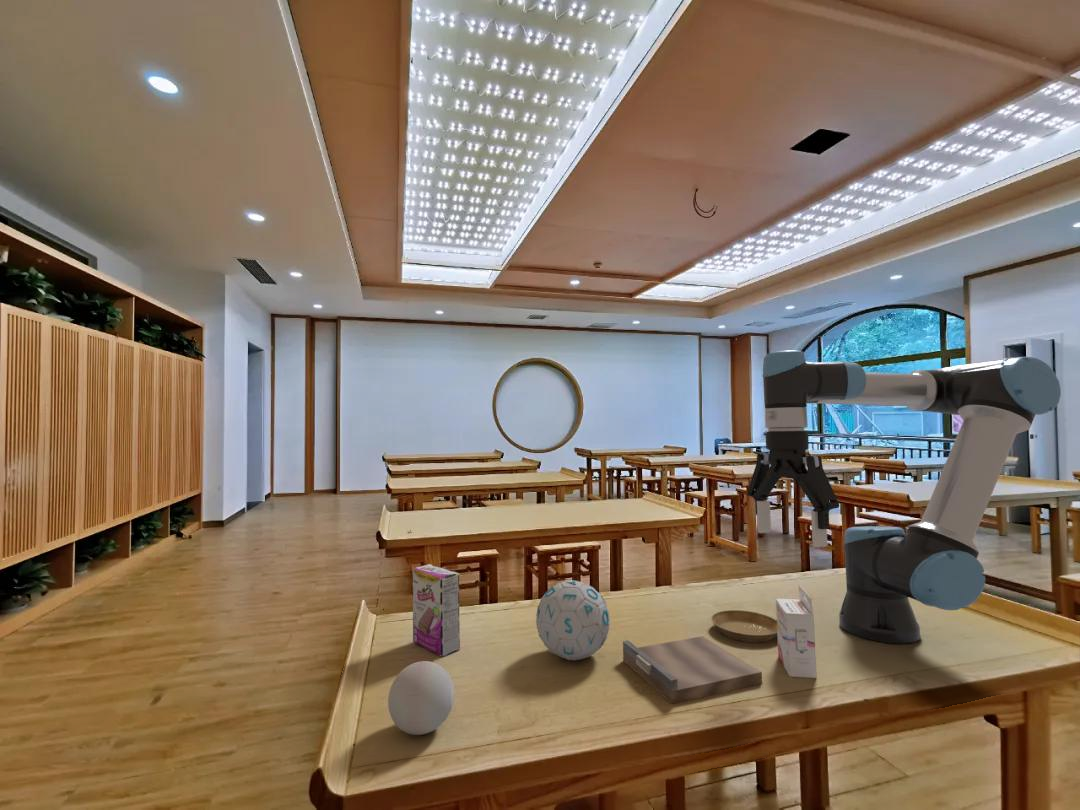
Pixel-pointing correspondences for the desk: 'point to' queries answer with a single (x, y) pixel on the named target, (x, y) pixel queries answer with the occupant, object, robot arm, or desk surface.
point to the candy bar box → (436, 609)
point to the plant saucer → (735, 621)
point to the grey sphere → (421, 698)
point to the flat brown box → (690, 668)
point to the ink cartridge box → (796, 635)
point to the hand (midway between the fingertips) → (790, 539)
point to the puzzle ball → (572, 620)
